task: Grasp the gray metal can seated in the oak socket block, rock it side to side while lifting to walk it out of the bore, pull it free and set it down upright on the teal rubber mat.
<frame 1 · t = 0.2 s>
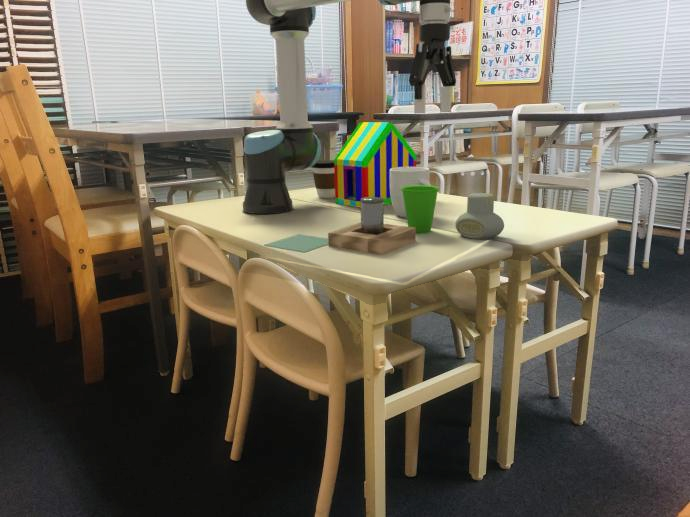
hand: (433, 112, 142), 28 cm above the table, fingers open, 13 cm apart
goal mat: (301, 245, 124), on the table
coffee cup: (327, 197, 189), on the table
toy house: (376, 201, 179), on the table
air freshener: (478, 238, 127), on the table
gray metal can: (372, 243, 122), resting on socket block
cup: (419, 233, 133), on the table
mug: (411, 216, 153), on the table
socket block: (372, 245, 122), on the table
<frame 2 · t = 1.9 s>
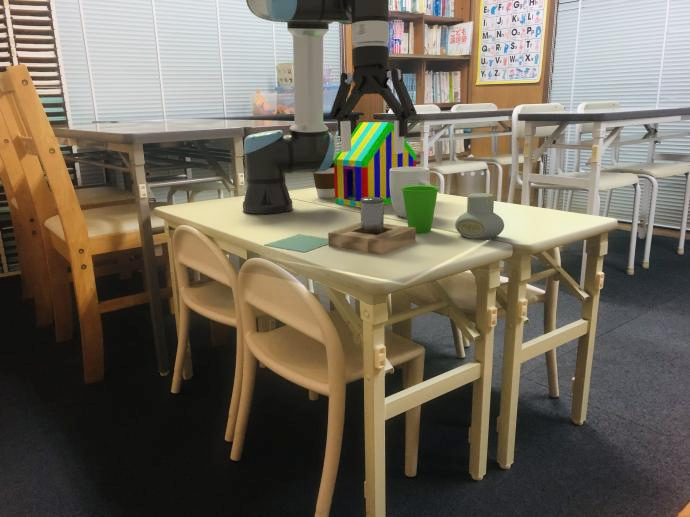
hand: (371, 152, 117), 20 cm above the table, fingers open, 13 cm apart
nothing on the table moved.
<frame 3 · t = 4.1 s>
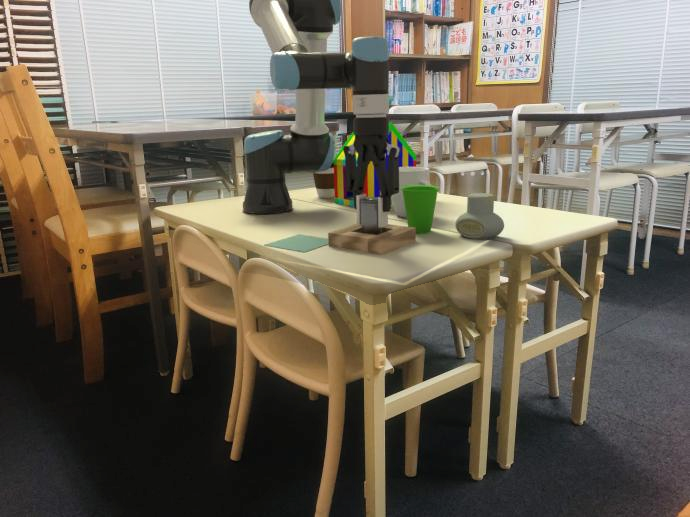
hand: (372, 224, 121), 5 cm above the table, fingers closed on gray metal can, 5 cm apart
gray metal can: (372, 243, 122), resting on socket block, touching gripper
everything else where it was.
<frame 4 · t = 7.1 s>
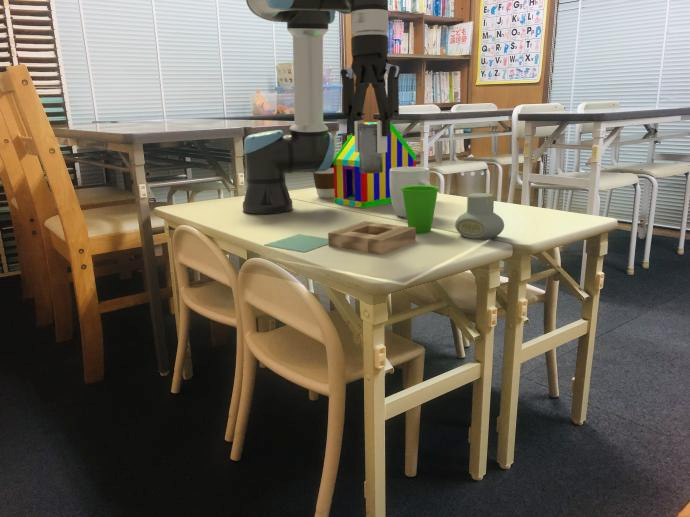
hand: (370, 151, 117), 21 cm above the table, fingers closed on gray metal can, 5 cm apart
gray metal can: (371, 171, 118), point 16 cm above the table, touching gripper
everything else where it was.
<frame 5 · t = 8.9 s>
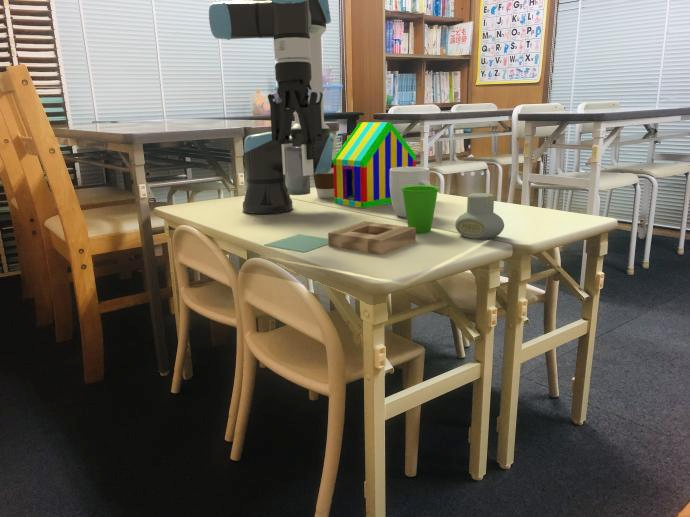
hand: (298, 174, 120), 16 cm above the table, fingers closed on gray metal can, 5 cm apart
gray metal can: (299, 193, 121), point 12 cm above the table, touching gripper
everything else where it was.
when the fingers open (7 cm above the table, at t = 10.5 s): gray metal can drops 2 cm, resting on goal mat.
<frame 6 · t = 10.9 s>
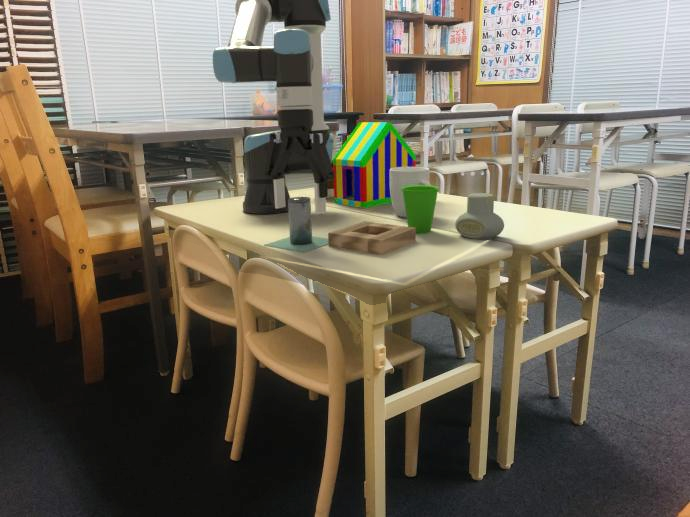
hand: (300, 209, 122), 8 cm above the table, fingers open, 11 cm apart
gray metal can: (301, 242, 124), point 1 cm above the table, touching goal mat
everything else where it was.
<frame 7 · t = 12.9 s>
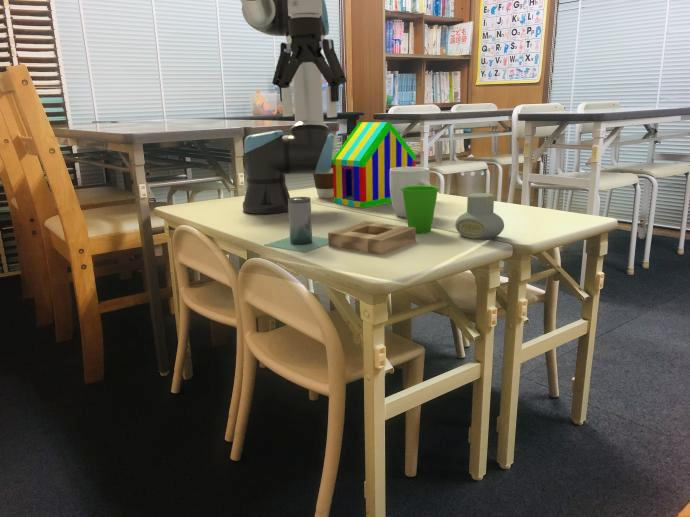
hand: (309, 116, 127), 28 cm above the table, fingers open, 13 cm apart
nothing on the table moved.
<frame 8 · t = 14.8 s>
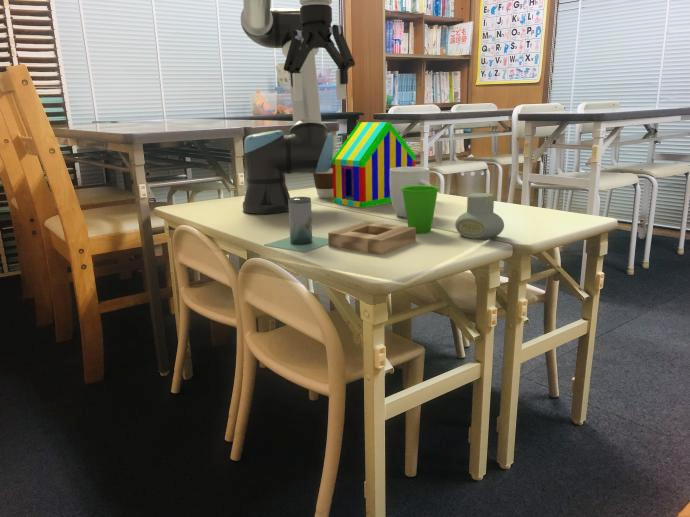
hand: (319, 100, 134), 32 cm above the table, fingers open, 13 cm apart
nothing on the table moved.
at the end: gray metal can inside the target area on the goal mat (0.0 cm from its centre), point 0.6 cm above the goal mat's base; gray metal can tilted 1°; the gripper is holding nothing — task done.
